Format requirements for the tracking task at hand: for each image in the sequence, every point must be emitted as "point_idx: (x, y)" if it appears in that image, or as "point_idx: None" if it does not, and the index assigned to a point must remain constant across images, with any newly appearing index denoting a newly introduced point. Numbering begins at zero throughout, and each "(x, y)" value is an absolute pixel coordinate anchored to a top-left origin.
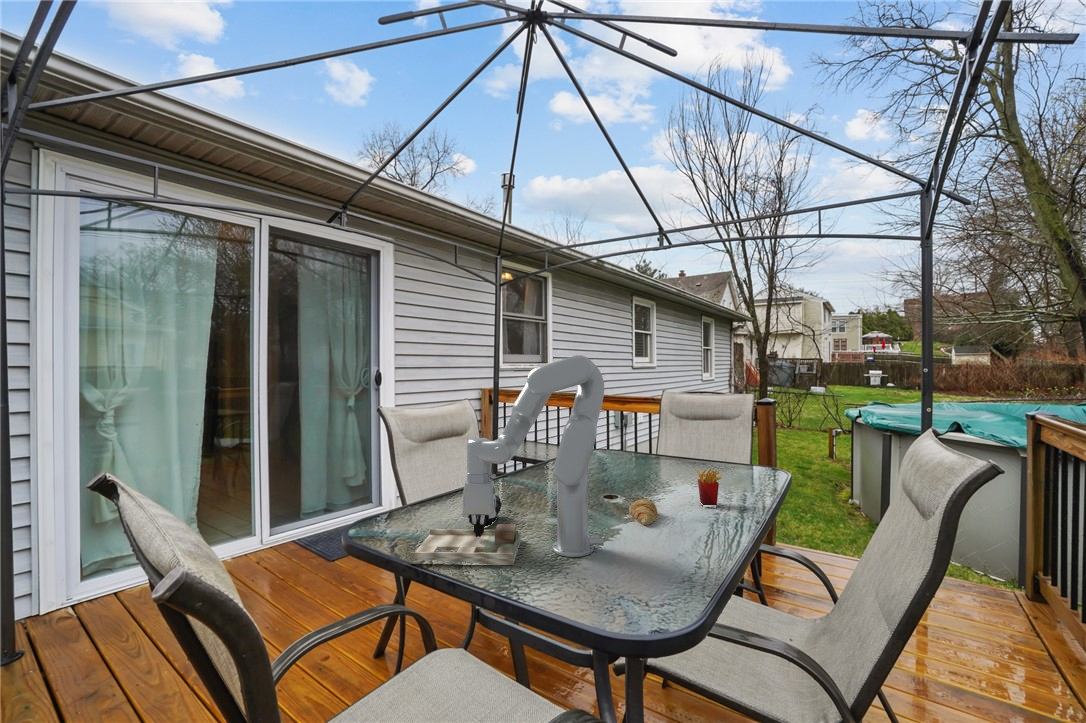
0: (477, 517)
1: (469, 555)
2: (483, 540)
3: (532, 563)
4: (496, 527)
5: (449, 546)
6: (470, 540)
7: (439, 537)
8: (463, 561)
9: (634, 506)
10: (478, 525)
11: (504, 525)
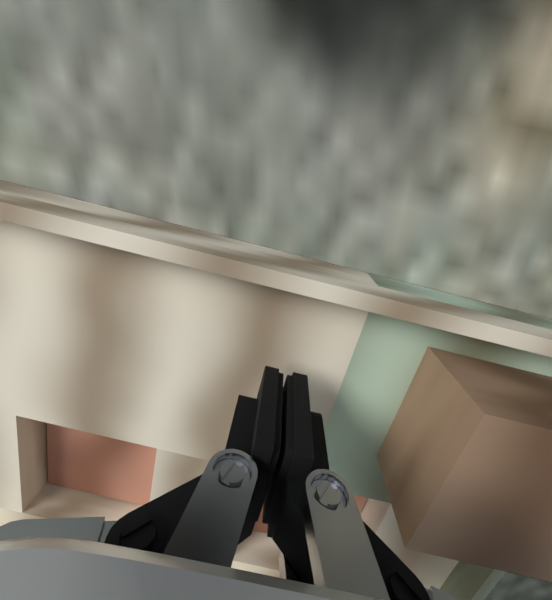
0: (245, 515)
1: None
2: (309, 391)
3: (506, 579)
4: (444, 490)
5: (91, 431)
6: (217, 373)
7: None
8: None
9: None
10: (263, 520)
11: (543, 464)
